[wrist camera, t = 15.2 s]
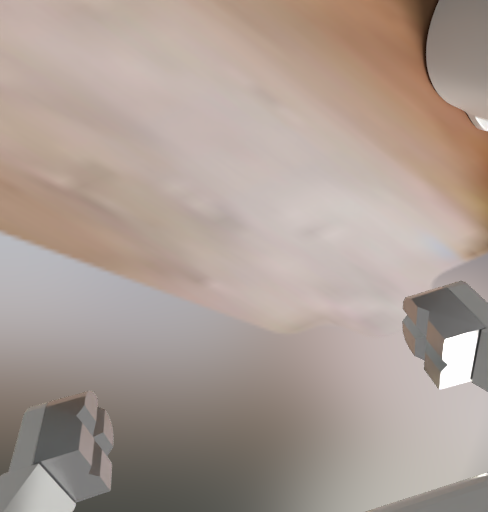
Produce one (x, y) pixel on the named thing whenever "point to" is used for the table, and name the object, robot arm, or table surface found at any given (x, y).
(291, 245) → the table surface
